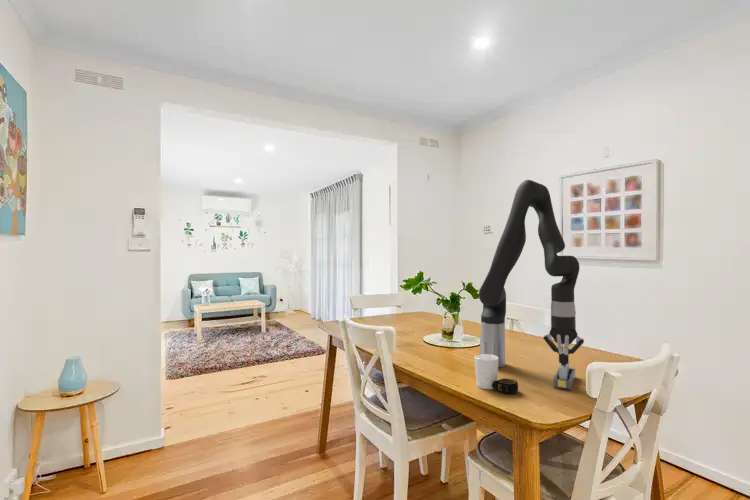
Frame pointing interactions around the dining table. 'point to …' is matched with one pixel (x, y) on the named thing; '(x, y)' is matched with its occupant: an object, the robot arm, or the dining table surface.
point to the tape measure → (506, 385)
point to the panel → (563, 372)
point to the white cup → (486, 370)
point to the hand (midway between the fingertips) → (563, 364)
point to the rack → (564, 383)
